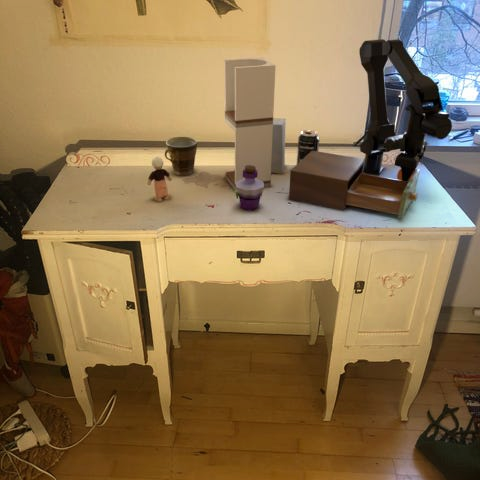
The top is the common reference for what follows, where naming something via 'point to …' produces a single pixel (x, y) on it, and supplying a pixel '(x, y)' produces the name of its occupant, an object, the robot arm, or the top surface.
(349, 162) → the cabinet
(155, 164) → the grandmother figurine
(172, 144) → the ceramic cup
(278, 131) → the cosmetic box
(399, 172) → the orange
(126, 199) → the top surface
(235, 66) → the white tower
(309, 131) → the beverage can
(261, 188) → the potion bottle
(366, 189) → the drawer
